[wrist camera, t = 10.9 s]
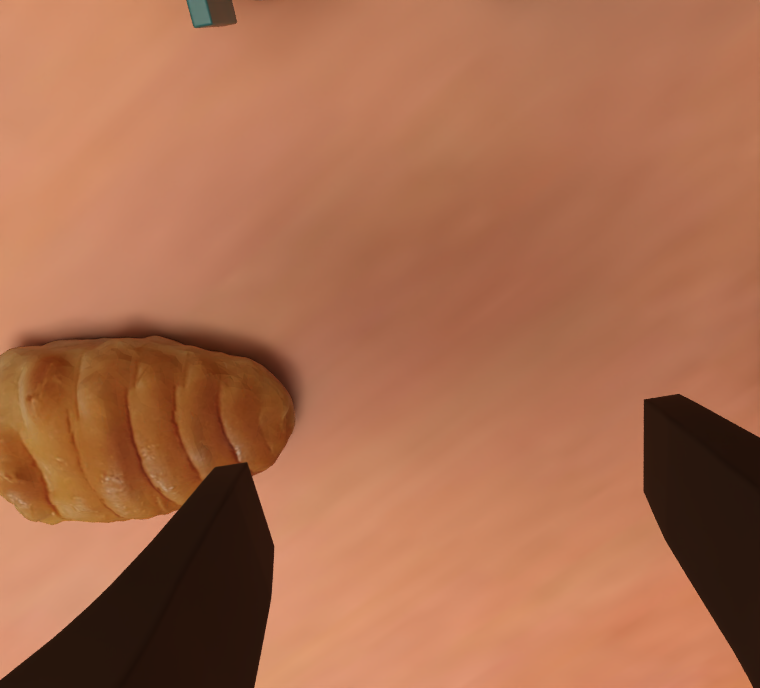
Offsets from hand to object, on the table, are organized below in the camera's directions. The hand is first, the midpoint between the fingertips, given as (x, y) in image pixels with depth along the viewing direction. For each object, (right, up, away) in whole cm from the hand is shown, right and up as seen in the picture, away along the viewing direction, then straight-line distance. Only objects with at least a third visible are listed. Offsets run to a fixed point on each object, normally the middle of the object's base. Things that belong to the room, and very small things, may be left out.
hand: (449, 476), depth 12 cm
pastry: (-10, 0, +11) cm, 15 cm away
